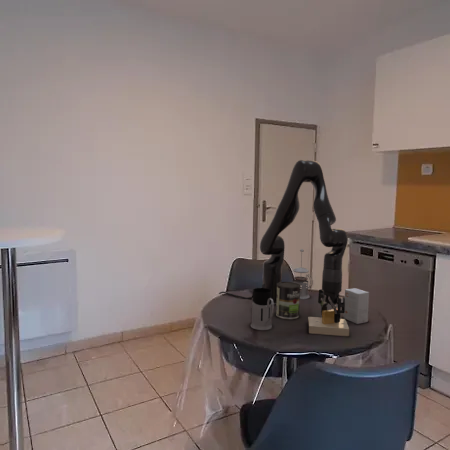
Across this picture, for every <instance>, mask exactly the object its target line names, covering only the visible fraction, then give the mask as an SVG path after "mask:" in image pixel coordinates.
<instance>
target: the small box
mask: <svg viewBox="0 0 450 450" xmlns="http://www.w3.org/2000/svg"><path fill="white" fill-rule="evenodd" d="M344 298H345V313H343V319H345V320H346V321H349V322H351V323H353V324H356V325H360V324H365V323H368V321H369V306H370V304H369V303H370V292H369V291H367V290H362V289H360V288H356V287H352V288H346V289H344Z"/></svg>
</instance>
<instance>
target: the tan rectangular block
mask: <svg viewBox="0 0 450 450" xmlns="http://www.w3.org/2000/svg"><path fill="white" fill-rule="evenodd" d="M336 309H337V310H338V308H336ZM334 313H335V312H334V309H333V308H332V309H327V310H323V311H322V315H321V318H322V323H323V324H330V323H335V322H334Z"/></svg>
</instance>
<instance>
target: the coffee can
mask: <svg viewBox="0 0 450 450" xmlns="http://www.w3.org/2000/svg"><path fill="white" fill-rule="evenodd" d="M300 289H301V288H300V284H298V283H294V282H293V281H282V282H279V283H277V303H276V305H275V306H276V307H275V316H276V317H277V318H280V319H284V320H296V319H298V318H299V317H300V300H301V299H300V291H301V290H300Z"/></svg>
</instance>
